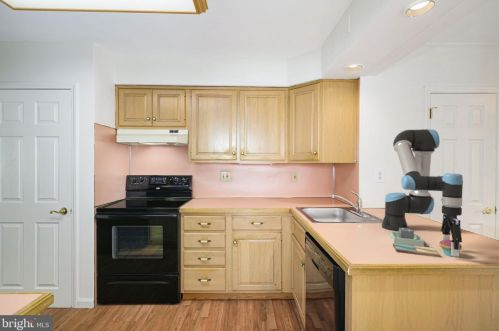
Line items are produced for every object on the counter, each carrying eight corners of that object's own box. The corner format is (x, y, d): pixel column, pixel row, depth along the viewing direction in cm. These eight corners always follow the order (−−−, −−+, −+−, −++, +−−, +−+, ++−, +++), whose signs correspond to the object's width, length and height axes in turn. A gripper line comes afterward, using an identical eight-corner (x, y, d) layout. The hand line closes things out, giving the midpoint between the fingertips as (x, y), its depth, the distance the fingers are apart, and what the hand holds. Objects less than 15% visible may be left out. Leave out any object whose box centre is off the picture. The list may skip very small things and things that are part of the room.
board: (392, 245, 136) (392, 242, 136) (432, 249, 130) (432, 247, 130) (396, 252, 126) (396, 249, 126) (440, 257, 120) (440, 254, 120)
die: (398, 238, 147) (398, 227, 146) (410, 239, 144) (411, 228, 144) (400, 241, 141) (401, 230, 141) (413, 242, 139) (413, 231, 139)
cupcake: (451, 251, 127) (452, 227, 127) (466, 258, 119) (467, 232, 118) (434, 251, 127) (435, 227, 127) (448, 258, 118) (449, 232, 118)
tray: (390, 236, 152) (390, 231, 152) (416, 239, 147) (417, 233, 147) (394, 243, 139) (394, 237, 139) (423, 246, 134) (423, 240, 134)
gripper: (434, 201, 134) (433, 243, 135) (451, 209, 113) (450, 259, 113) (451, 202, 132) (450, 245, 132) (472, 211, 110) (471, 262, 111)
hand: (450, 251), depth 123 cm, fingers open, 11 cm apart
